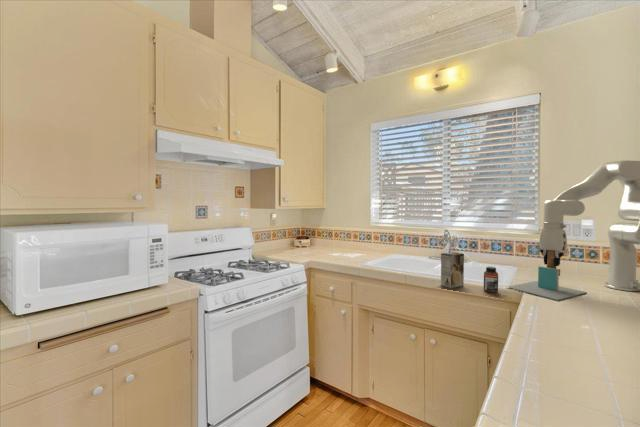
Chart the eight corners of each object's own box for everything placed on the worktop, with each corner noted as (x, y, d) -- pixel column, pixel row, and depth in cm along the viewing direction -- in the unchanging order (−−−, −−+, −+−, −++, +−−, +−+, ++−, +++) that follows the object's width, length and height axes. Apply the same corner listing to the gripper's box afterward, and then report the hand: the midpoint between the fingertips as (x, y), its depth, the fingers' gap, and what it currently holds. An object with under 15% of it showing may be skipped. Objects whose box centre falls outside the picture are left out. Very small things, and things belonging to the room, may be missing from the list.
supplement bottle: (486, 288, 153) (486, 265, 153) (499, 291, 149) (500, 267, 149) (481, 291, 149) (482, 267, 149) (495, 294, 145) (496, 269, 145)
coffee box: (453, 283, 164) (453, 251, 163) (463, 286, 158) (464, 253, 157) (440, 285, 160) (440, 253, 159) (450, 288, 154) (451, 255, 153)
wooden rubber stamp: (560, 275, 150) (561, 248, 150) (556, 276, 149) (557, 248, 148) (546, 273, 156) (547, 246, 155) (542, 273, 154) (543, 246, 153)
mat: (586, 293, 146) (586, 292, 146) (557, 301, 135) (557, 299, 135) (535, 282, 166) (535, 281, 166) (506, 288, 155) (506, 286, 155)
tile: (558, 290, 148) (558, 269, 148) (556, 291, 147) (557, 269, 147) (539, 286, 155) (540, 266, 155) (538, 286, 155) (538, 266, 154)
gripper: (577, 227, 145) (576, 267, 146) (539, 224, 160) (537, 261, 161) (569, 228, 142) (567, 269, 143) (530, 225, 157) (528, 262, 158)
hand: (551, 264), depth 152 cm, fingers closed on wooden rubber stamp, 3 cm apart
